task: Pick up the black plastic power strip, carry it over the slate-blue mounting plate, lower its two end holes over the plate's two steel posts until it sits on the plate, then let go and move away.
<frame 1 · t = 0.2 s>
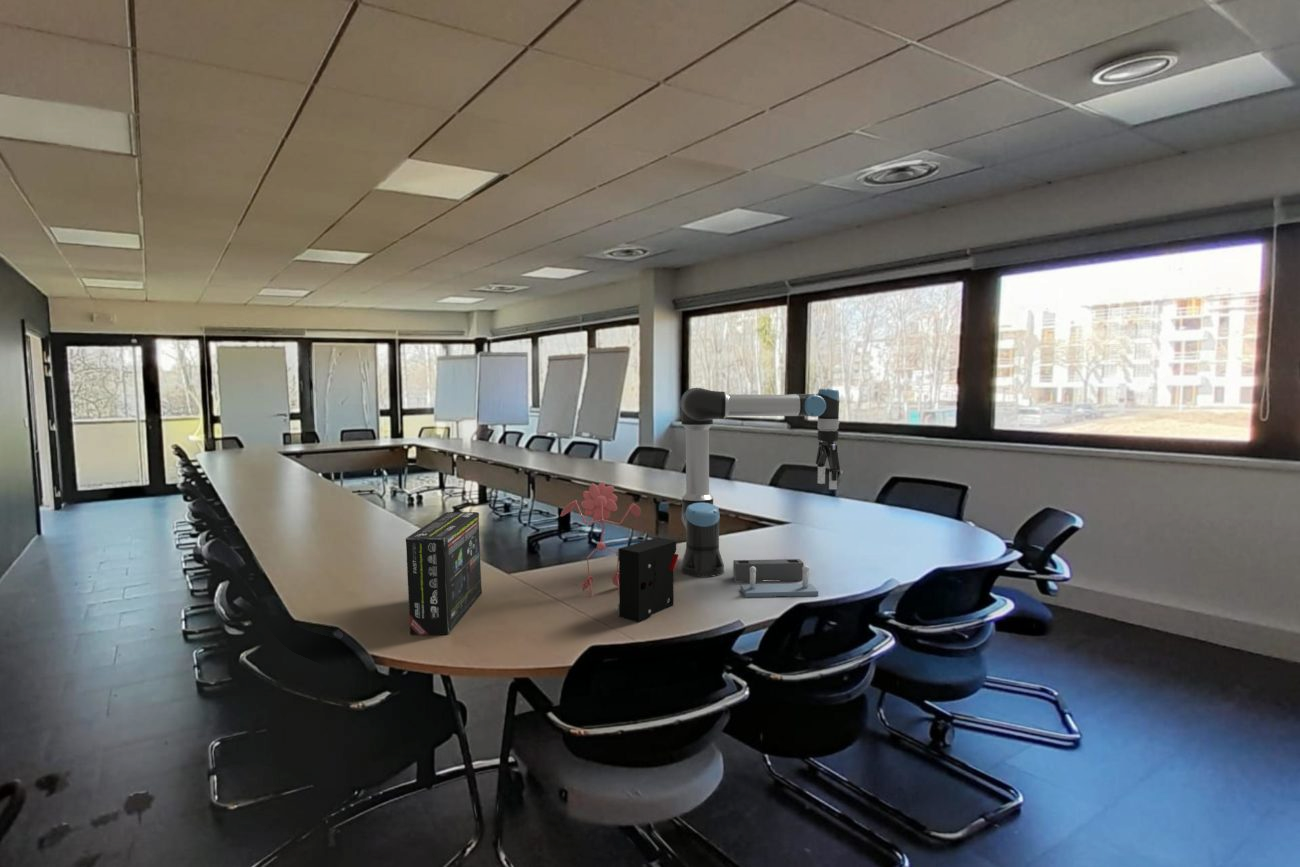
hand: (826, 486, 253), 28 cm above the table, tool pointing down, fingers open, 13 cm apart
router box: (448, 613, 197), on the table
mounting plate: (778, 592, 215), on the table
electrical component: (646, 611, 198), on the table
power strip: (768, 578, 230), on the table
pink flower figurine: (600, 589, 219), on the table
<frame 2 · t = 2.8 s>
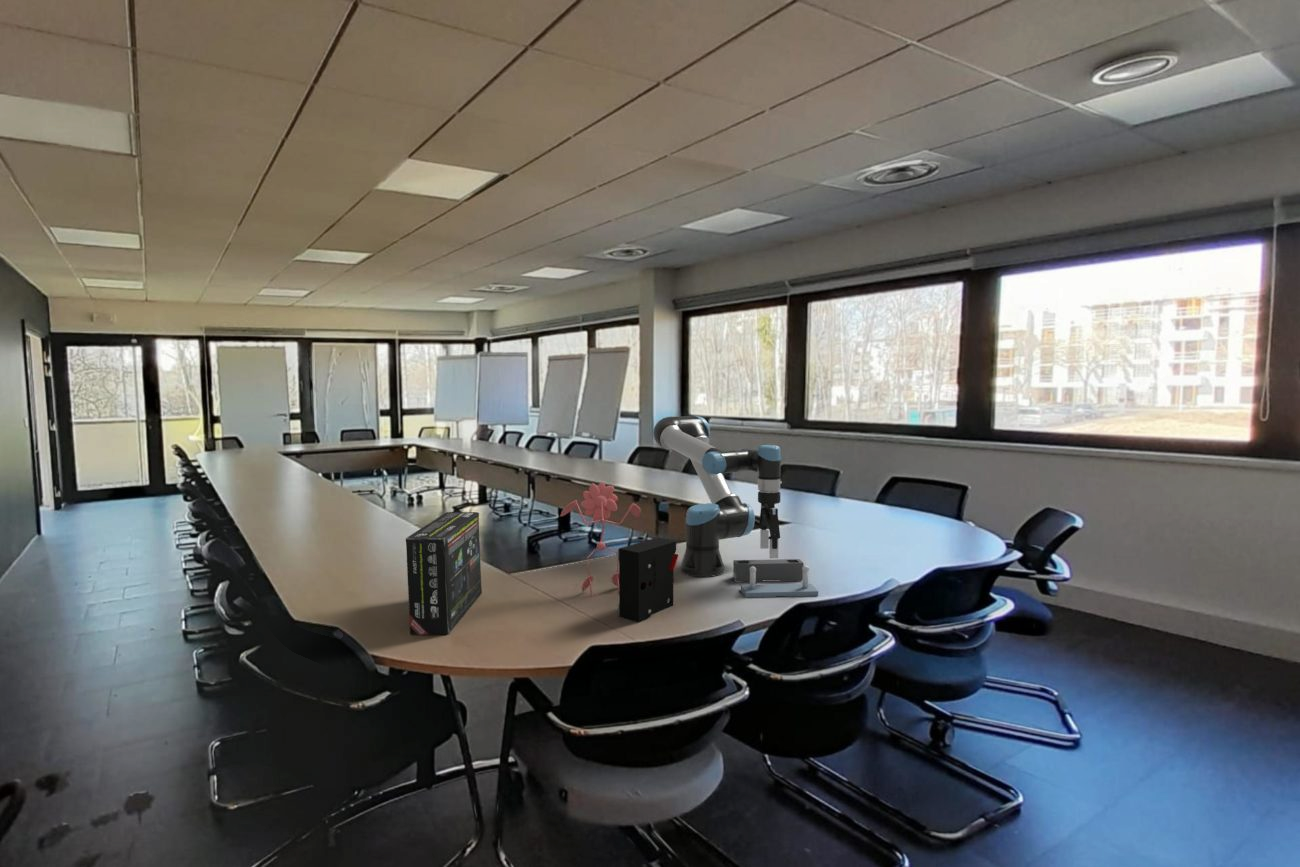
hand: (769, 553, 229), 9 cm above the table, tool pointing down, fingers open, 13 cm apart
nothing on the table moved.
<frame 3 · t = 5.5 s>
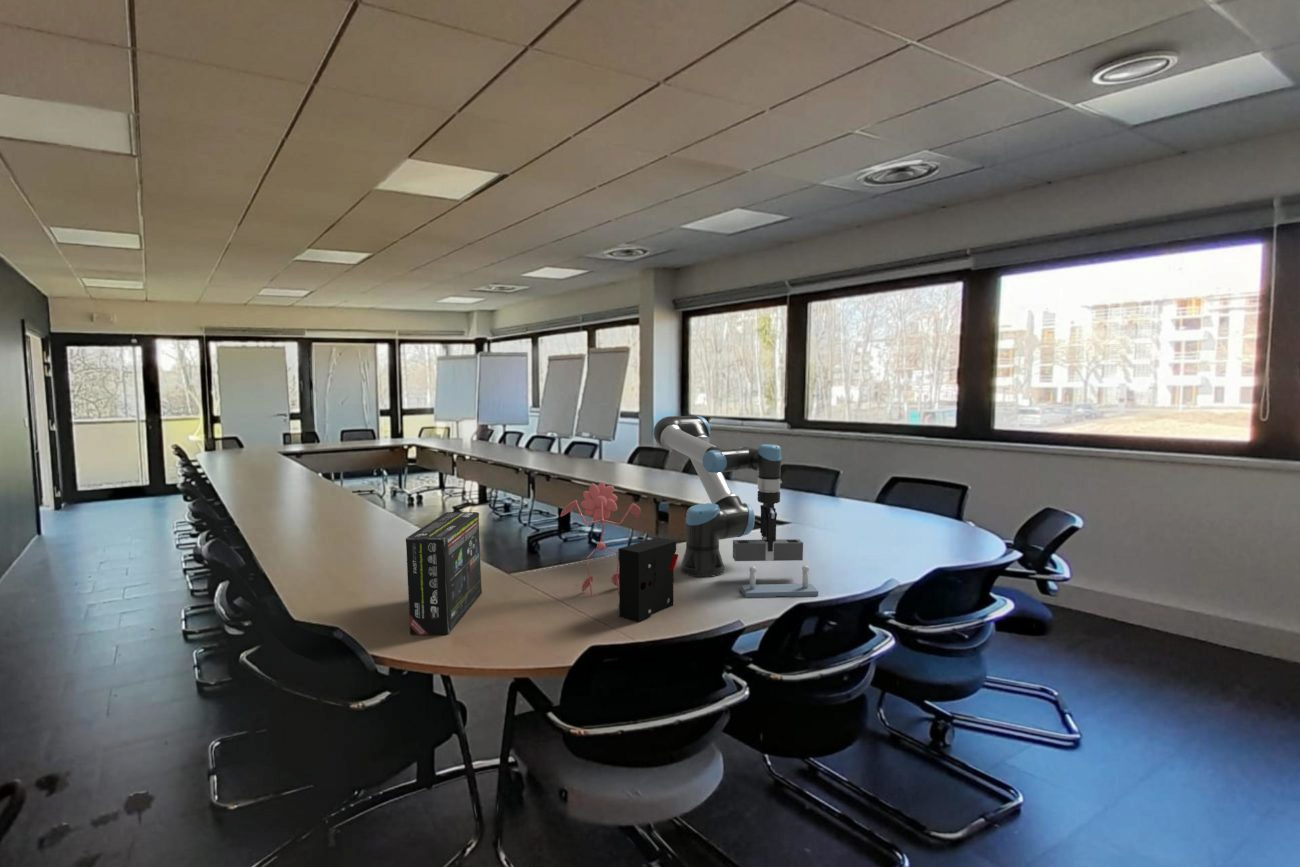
hand: (767, 557, 229), 7 cm above the table, tool pointing down, fingers closed on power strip, 5 cm apart
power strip: (767, 558, 230), point 7 cm above the table, touching gripper
everything else where it was.
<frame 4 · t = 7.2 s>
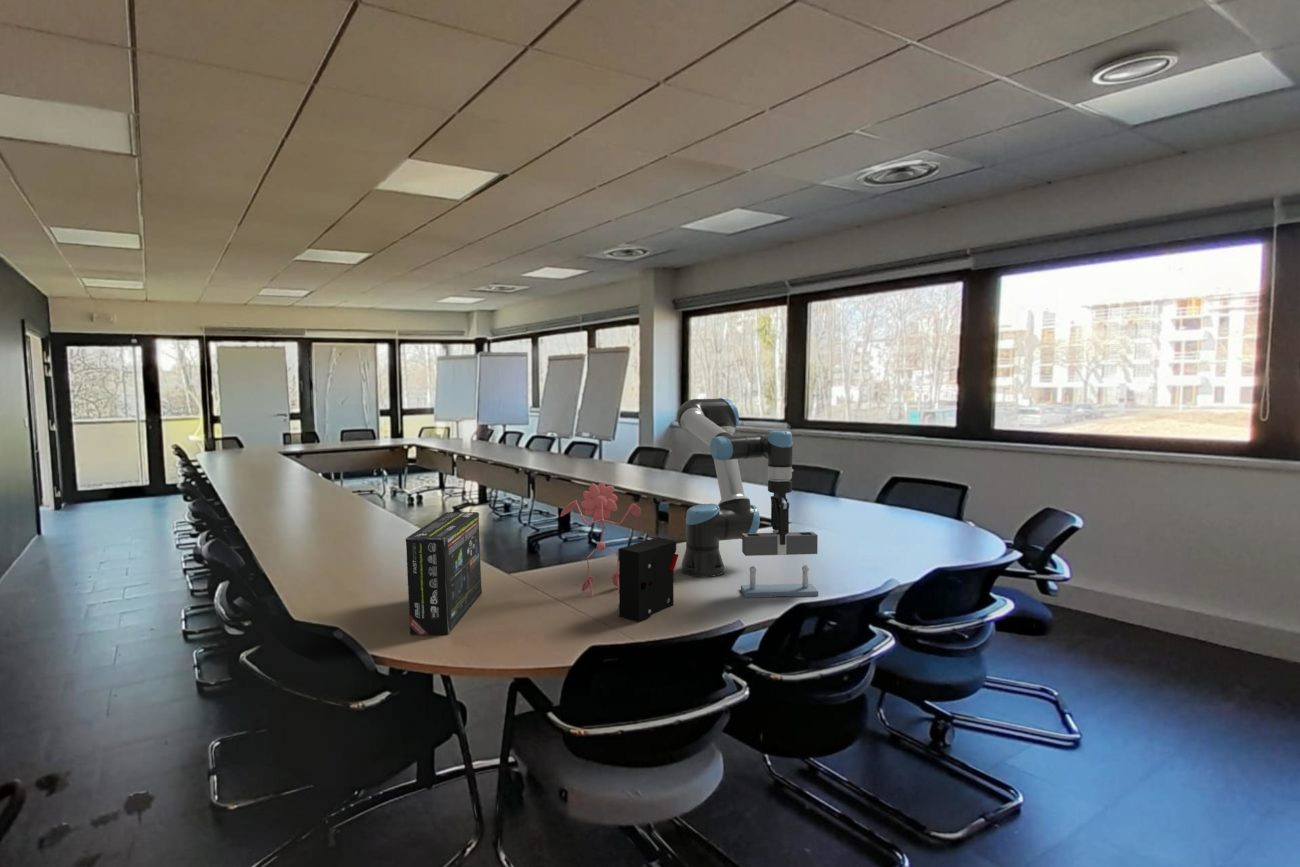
hand: (779, 552, 214), 13 cm above the table, tool pointing down, fingers closed on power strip, 5 cm apart
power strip: (779, 552, 214), point 13 cm above the table, touching gripper
everything else where it was.
when the fingers open (2 cm above the table, at t = 9.5 s): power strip stays where it is, resting on mounting plate.
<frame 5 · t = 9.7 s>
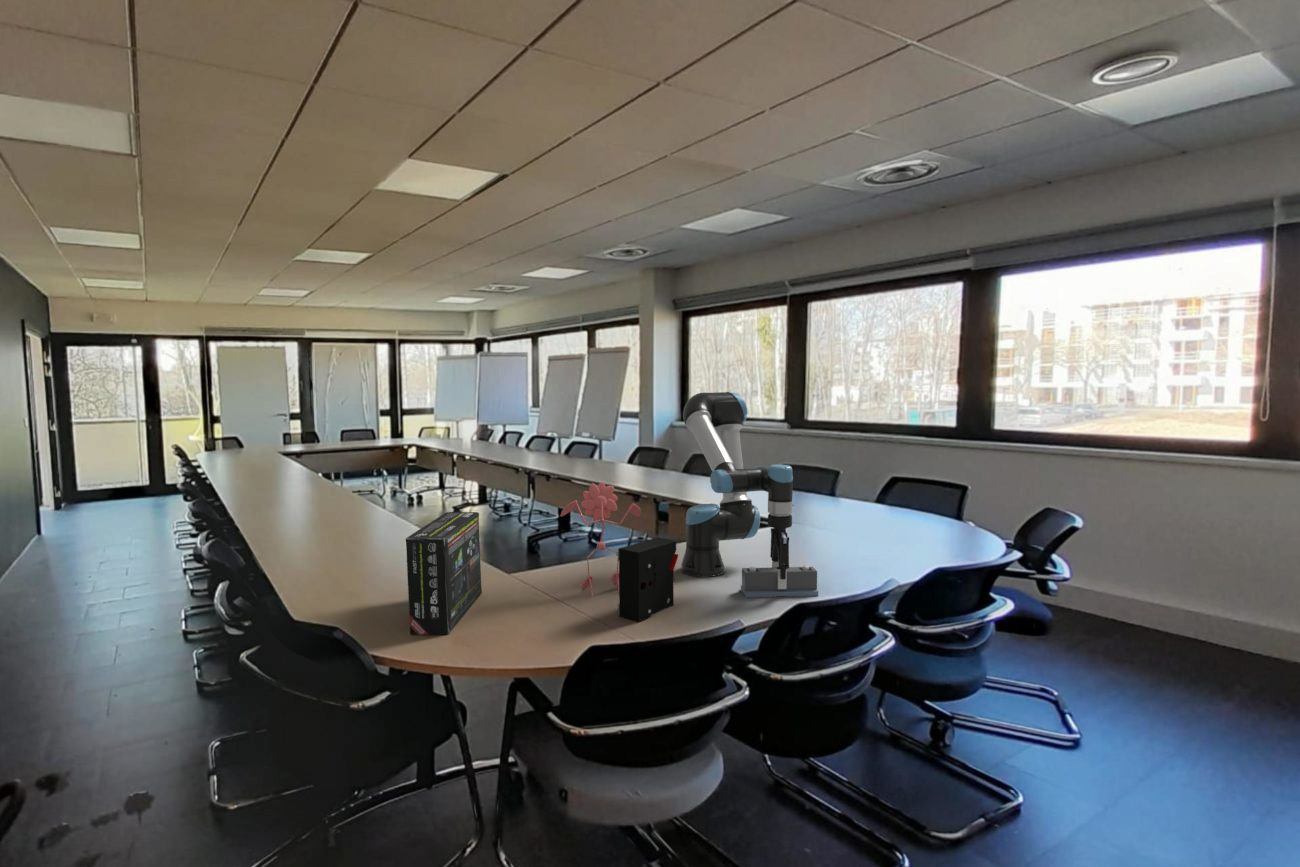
hand: (779, 585, 215), 2 cm above the table, tool pointing down, fingers open, 7 cm apart
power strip: (779, 588, 215), point 1 cm above the table, touching mounting plate
everything else where it was.
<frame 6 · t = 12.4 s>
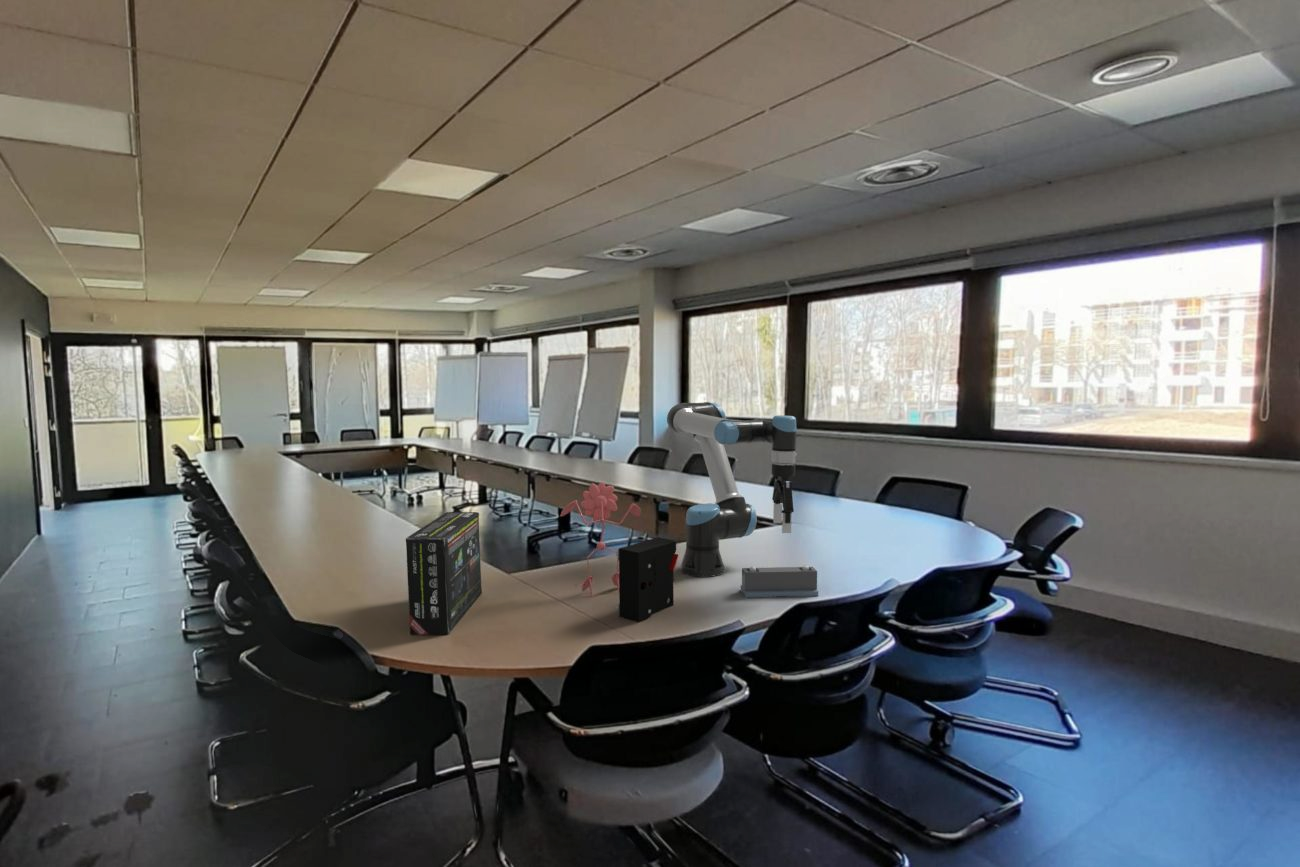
hand: (781, 527, 220), 19 cm above the table, tool pointing down, fingers open, 13 cm apart
nothing on the table moved.
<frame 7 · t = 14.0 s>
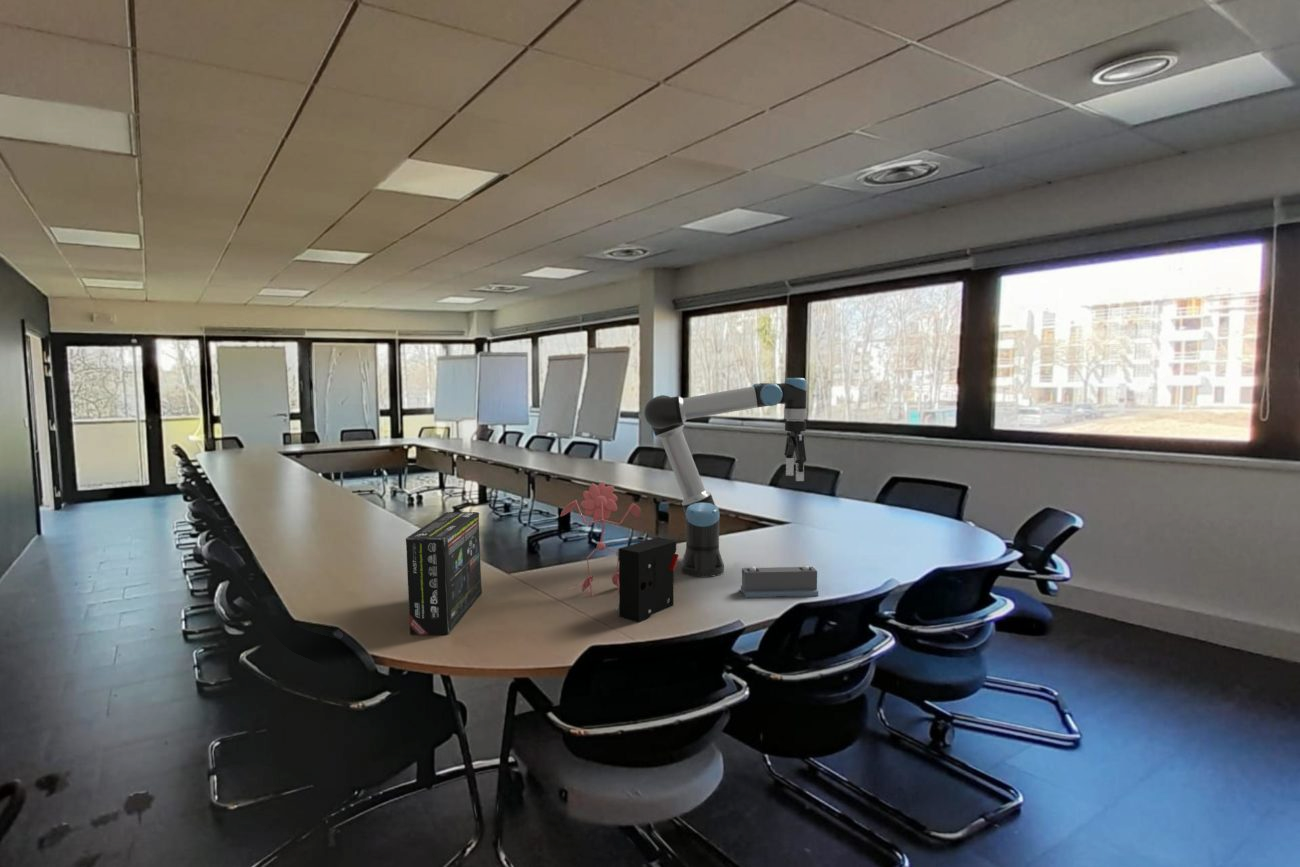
hand: (794, 478, 247), 32 cm above the table, tool pointing down, fingers open, 13 cm apart
nothing on the table moved.
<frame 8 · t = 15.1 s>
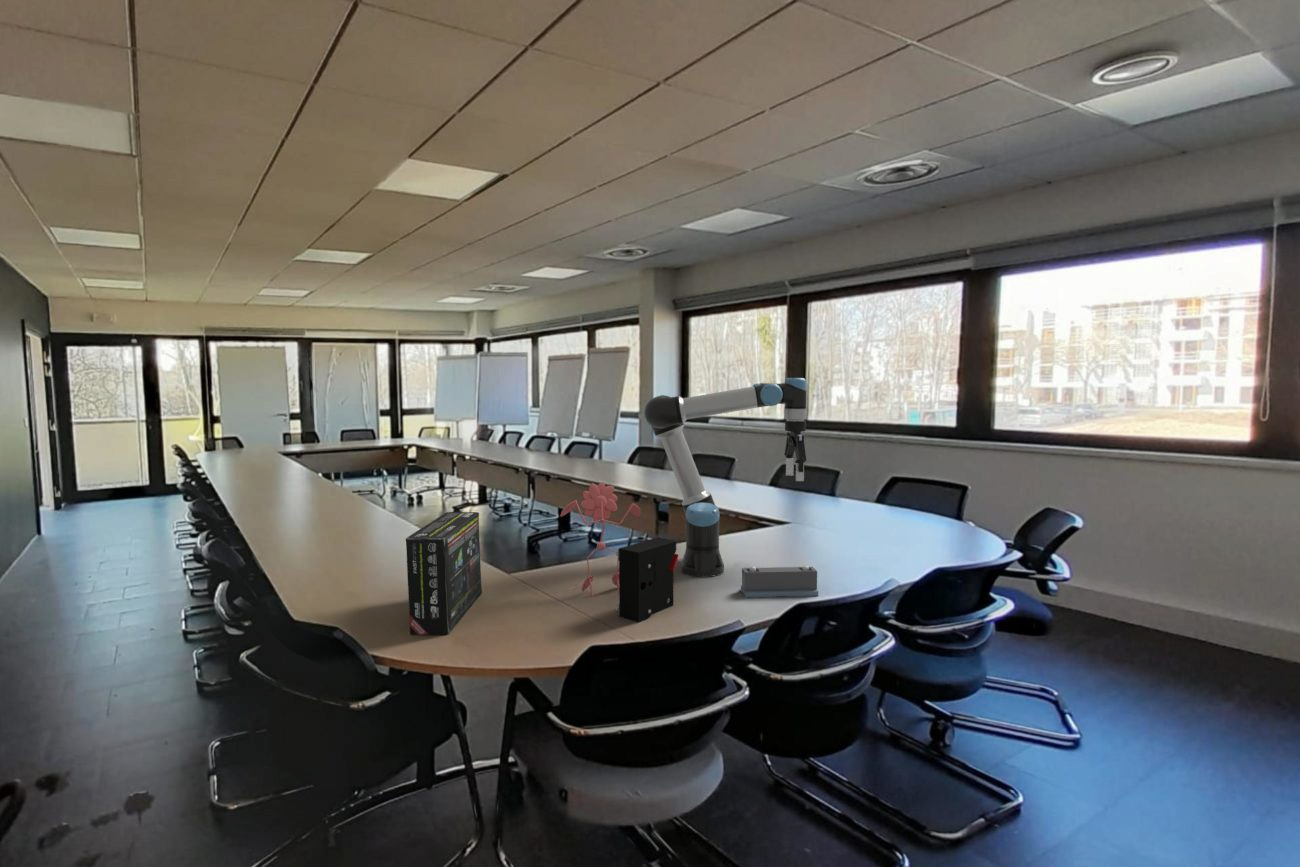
hand: (794, 478, 247), 32 cm above the table, tool pointing down, fingers open, 13 cm apart
nothing on the table moved.
at the end: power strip 0.1 cm off-centre on the mounting plate, point 1.5 cm above the mounting plate's base; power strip tilted 0°; the gripper is holding nothing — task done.
